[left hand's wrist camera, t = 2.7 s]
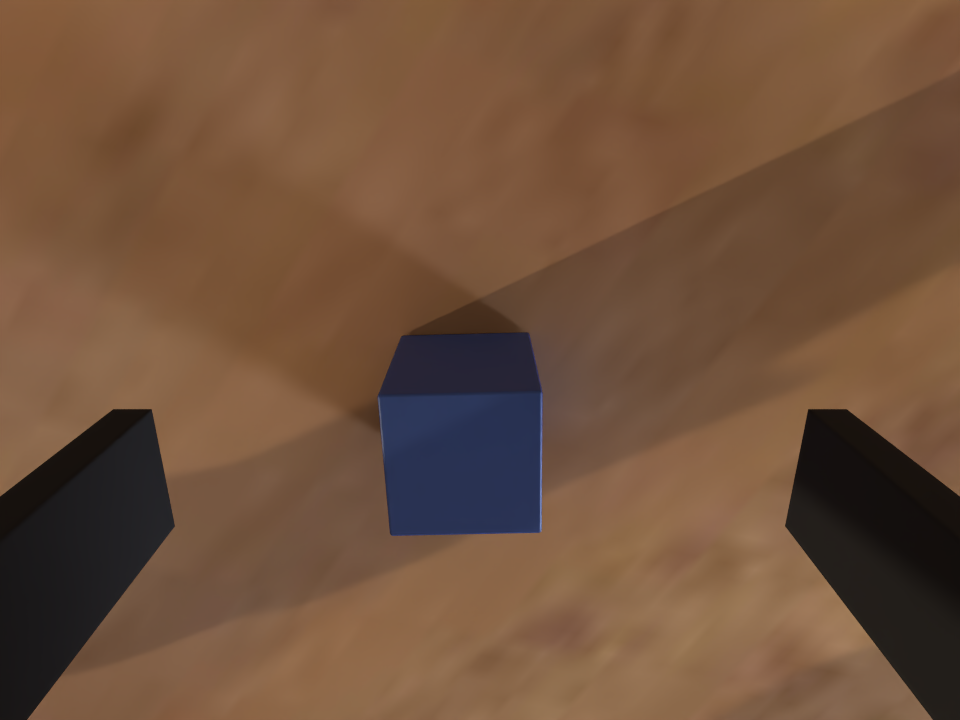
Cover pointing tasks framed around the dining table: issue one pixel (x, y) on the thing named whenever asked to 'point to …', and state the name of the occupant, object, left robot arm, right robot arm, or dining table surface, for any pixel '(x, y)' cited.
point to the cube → (462, 435)
